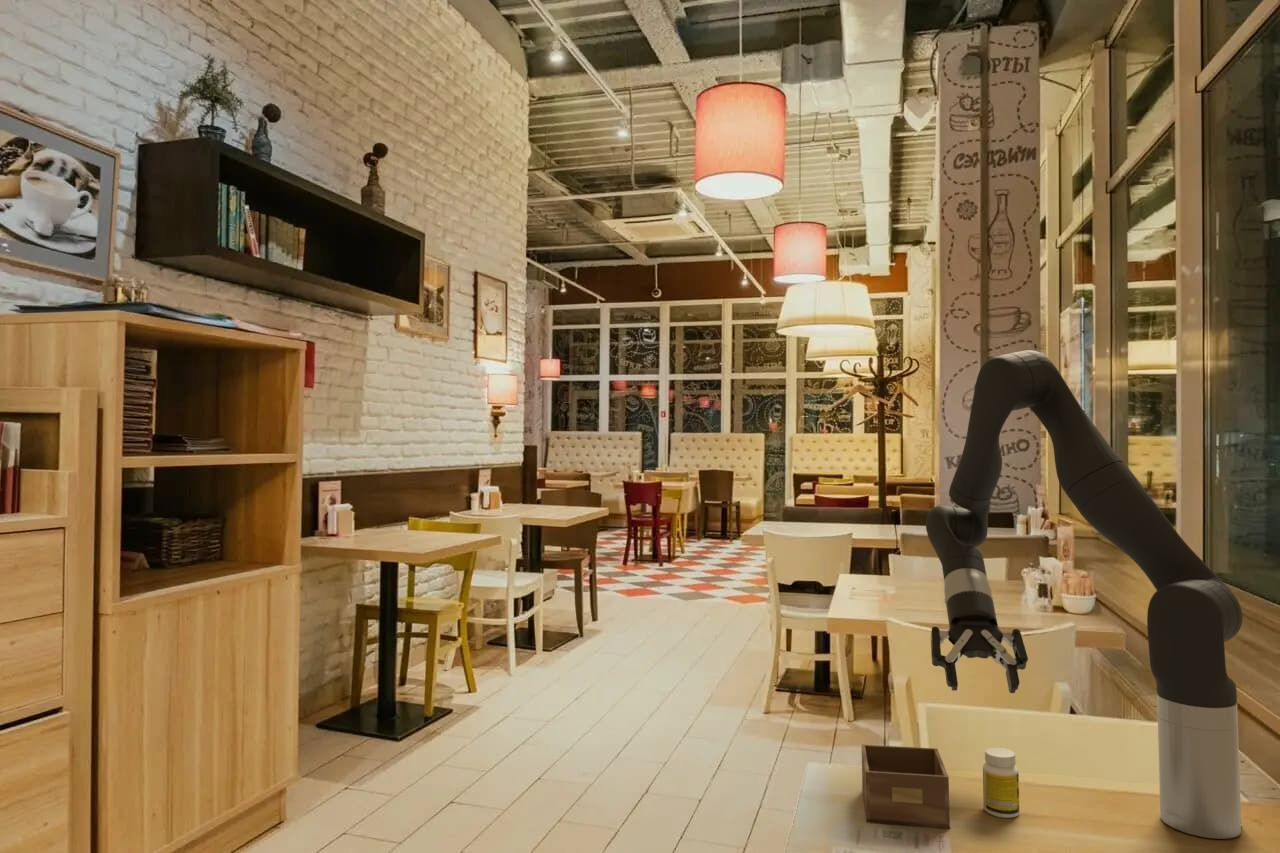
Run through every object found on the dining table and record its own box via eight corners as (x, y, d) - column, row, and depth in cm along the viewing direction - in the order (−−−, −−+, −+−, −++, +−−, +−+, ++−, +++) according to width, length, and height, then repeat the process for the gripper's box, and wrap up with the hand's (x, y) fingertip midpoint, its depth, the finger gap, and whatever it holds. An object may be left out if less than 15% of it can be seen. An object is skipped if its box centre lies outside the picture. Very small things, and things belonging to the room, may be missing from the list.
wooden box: (862, 790, 129) (861, 744, 129) (938, 795, 126) (937, 748, 127) (866, 823, 118) (865, 772, 118) (949, 829, 116) (948, 777, 116)
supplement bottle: (1025, 818, 118) (1023, 758, 119) (991, 819, 118) (989, 758, 119) (1011, 804, 123) (1009, 746, 123) (978, 804, 123) (977, 746, 123)
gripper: (926, 588, 142) (938, 675, 131) (1017, 589, 139) (1036, 679, 128) (923, 613, 147) (934, 699, 136) (1011, 615, 144) (1029, 703, 133)
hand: (983, 689), depth 132 cm, fingers open, 8 cm apart
